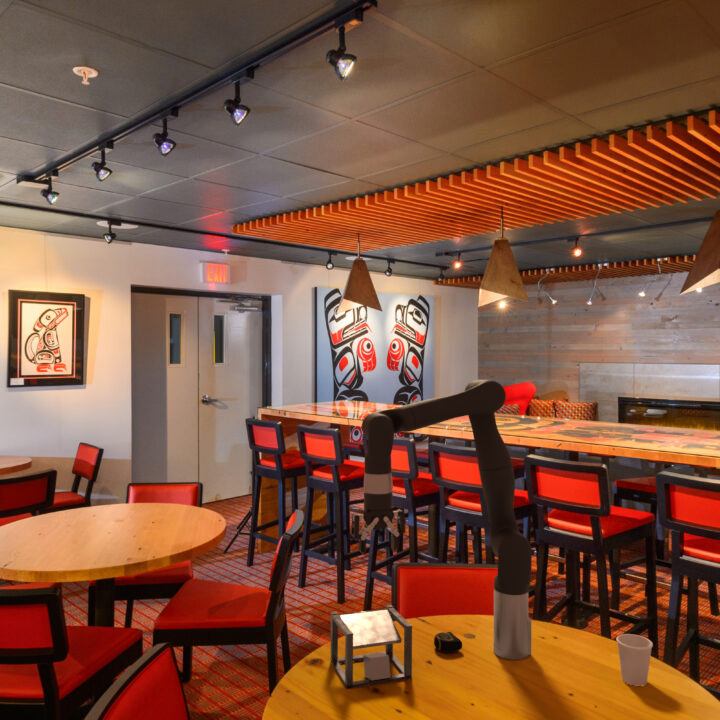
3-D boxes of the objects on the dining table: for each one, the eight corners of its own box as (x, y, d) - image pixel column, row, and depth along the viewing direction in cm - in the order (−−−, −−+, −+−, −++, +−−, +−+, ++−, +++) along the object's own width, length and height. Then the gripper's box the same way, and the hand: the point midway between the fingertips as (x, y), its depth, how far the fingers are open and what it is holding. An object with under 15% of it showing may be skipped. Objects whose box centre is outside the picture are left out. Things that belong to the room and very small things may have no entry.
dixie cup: (616, 685, 155) (617, 644, 155) (615, 670, 163) (615, 631, 163) (654, 692, 152) (654, 650, 152) (651, 676, 160) (651, 636, 160)
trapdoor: (385, 610, 170) (386, 607, 170) (401, 642, 159) (401, 639, 159) (338, 616, 166) (339, 613, 166) (351, 649, 155) (351, 646, 155)
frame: (390, 653, 171) (391, 604, 172) (411, 678, 158) (412, 625, 158) (330, 662, 166) (330, 612, 166) (346, 689, 152) (347, 634, 152)
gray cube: (381, 652, 161) (388, 655, 157) (383, 673, 160) (390, 677, 155) (363, 655, 160) (369, 658, 155) (365, 676, 158) (371, 680, 154)
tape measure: (463, 653, 172) (463, 639, 172) (440, 656, 170) (440, 642, 170) (452, 643, 179) (452, 629, 179) (430, 646, 177) (430, 632, 177)
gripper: (397, 485, 171) (398, 545, 171) (347, 489, 166) (348, 551, 166) (408, 490, 164) (409, 553, 163) (357, 494, 159) (357, 559, 159)
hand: (378, 552), depth 165 cm, fingers open, 8 cm apart
